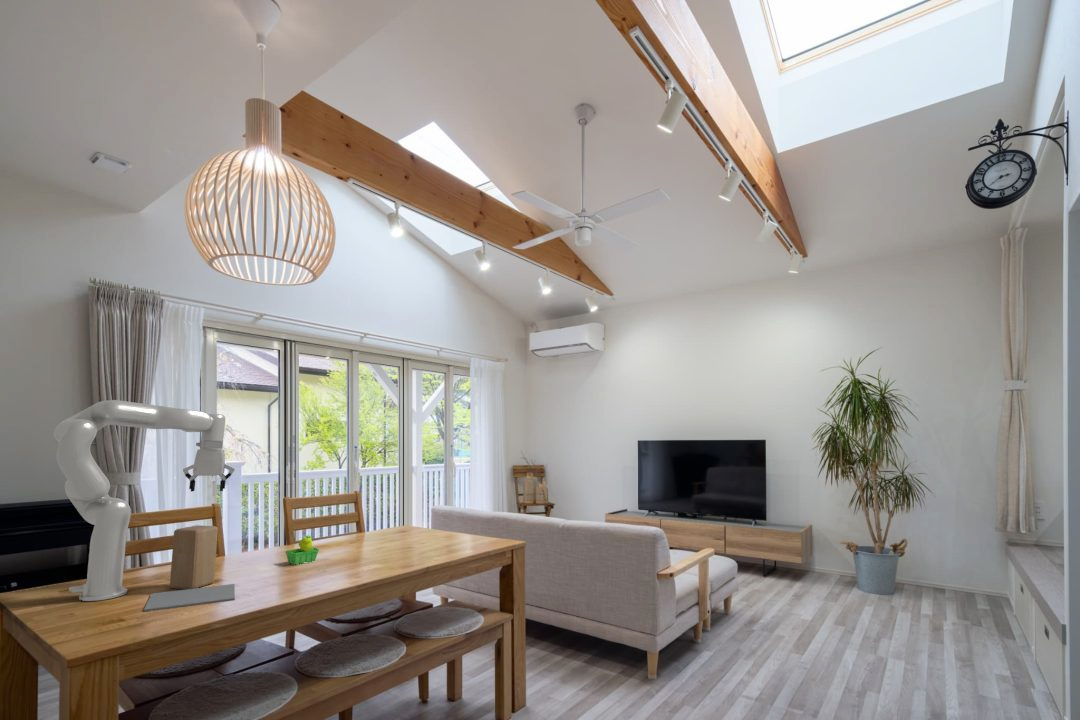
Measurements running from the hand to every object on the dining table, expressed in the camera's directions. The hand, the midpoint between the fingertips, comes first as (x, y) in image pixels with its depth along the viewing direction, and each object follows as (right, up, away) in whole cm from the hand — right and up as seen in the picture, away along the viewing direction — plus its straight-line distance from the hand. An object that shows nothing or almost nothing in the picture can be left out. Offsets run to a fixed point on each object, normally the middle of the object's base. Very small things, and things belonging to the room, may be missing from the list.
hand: (207, 491), depth 215 cm
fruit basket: (+29, -34, +18) cm, 48 cm away
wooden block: (+5, -29, -18) cm, 35 cm away
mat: (+14, -27, -32) cm, 45 cm away
